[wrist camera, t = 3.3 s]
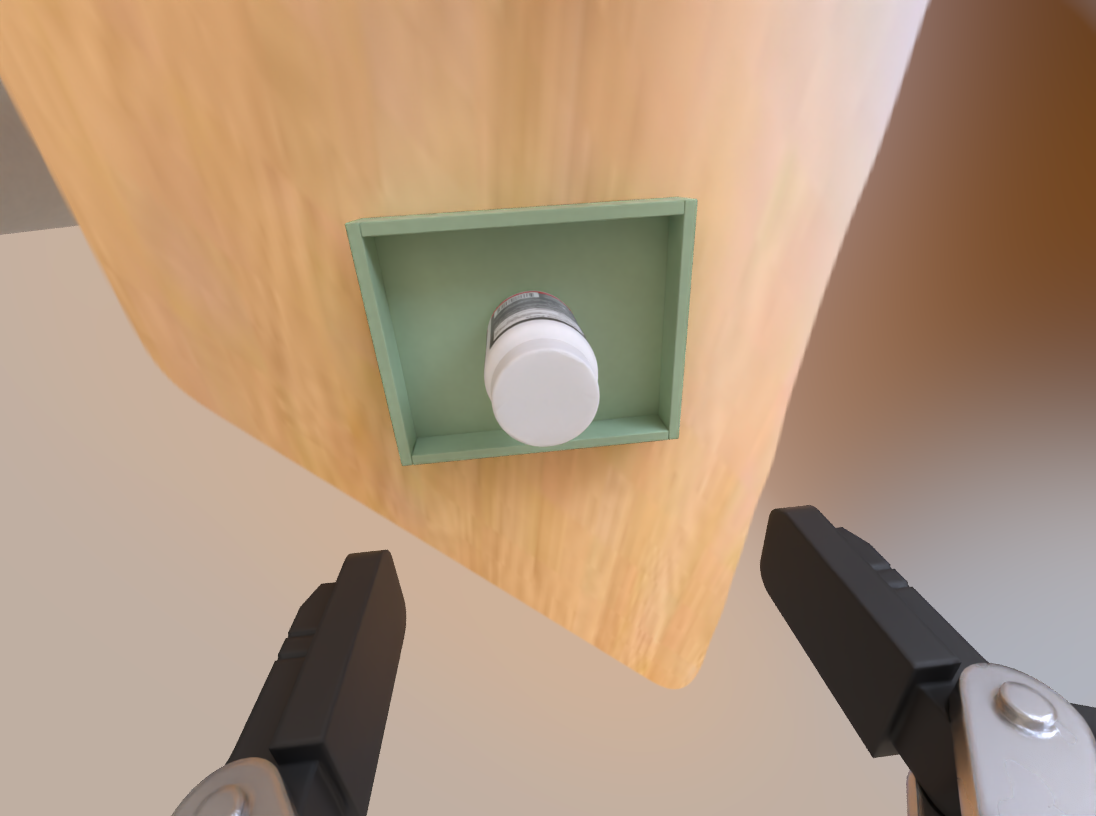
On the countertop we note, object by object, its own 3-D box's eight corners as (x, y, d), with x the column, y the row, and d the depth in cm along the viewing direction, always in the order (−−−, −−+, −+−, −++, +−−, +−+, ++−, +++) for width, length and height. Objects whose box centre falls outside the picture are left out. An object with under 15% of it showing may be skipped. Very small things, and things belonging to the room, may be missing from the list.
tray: (409, 442, 27) (401, 466, 25) (359, 218, 22) (344, 223, 20) (664, 418, 28) (678, 439, 26) (678, 196, 23) (698, 198, 20)
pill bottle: (559, 385, 26) (583, 470, 18) (476, 362, 25) (467, 441, 17) (590, 305, 24) (631, 362, 17) (502, 275, 23) (503, 323, 16)
